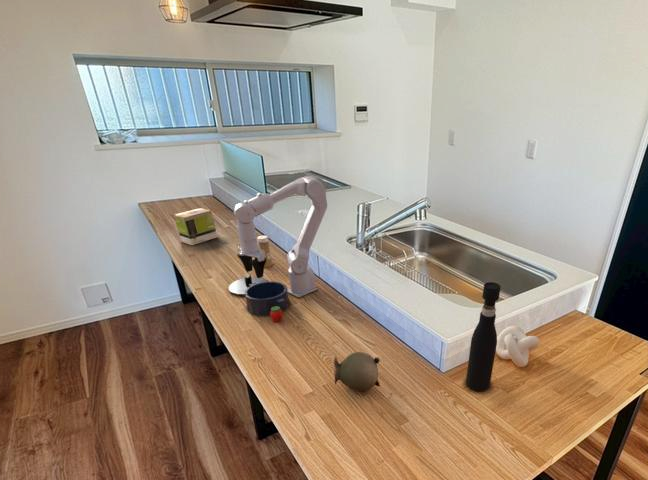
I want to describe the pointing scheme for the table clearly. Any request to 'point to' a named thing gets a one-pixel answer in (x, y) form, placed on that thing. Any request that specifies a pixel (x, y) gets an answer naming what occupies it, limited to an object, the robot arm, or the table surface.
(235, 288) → the lid
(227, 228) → the table surface
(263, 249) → the sprinkles bottle
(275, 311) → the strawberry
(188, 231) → the tea box
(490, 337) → the black bottle
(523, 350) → the white decorative knot
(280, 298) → the pot
